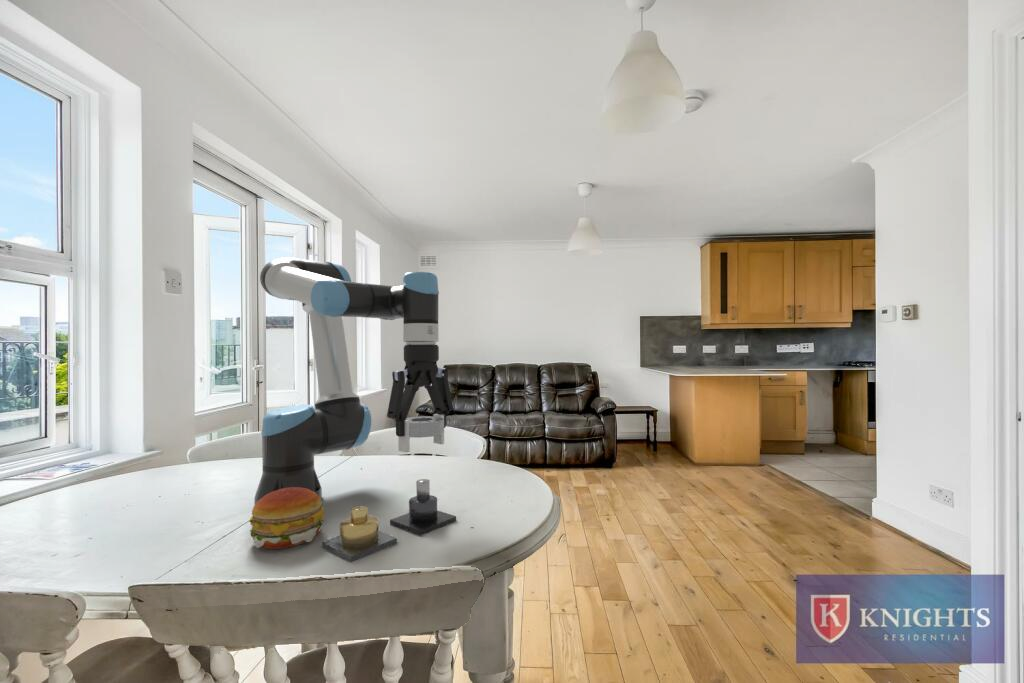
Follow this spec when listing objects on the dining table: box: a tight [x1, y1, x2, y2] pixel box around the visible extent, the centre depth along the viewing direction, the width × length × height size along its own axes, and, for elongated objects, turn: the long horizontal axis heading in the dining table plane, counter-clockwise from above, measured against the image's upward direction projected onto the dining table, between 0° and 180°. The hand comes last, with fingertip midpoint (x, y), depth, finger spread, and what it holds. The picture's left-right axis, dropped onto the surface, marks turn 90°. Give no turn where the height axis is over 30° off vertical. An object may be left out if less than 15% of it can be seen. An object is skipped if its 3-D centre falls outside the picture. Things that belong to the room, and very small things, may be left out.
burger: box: [249, 487, 325, 550], centre depth 92 cm, size 13×14×10 cm
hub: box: [321, 505, 398, 563], centre depth 88 cm, size 10×10×7 cm
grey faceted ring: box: [406, 415, 445, 439], centre depth 100 cm, size 9×9×3 cm
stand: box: [389, 478, 457, 537], centre depth 100 cm, size 10×10×9 cm
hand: (422, 447), depth 100 cm, fingers closed on grey faceted ring, 9 cm apart
